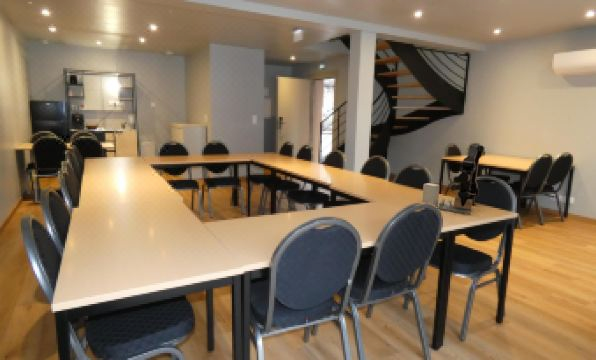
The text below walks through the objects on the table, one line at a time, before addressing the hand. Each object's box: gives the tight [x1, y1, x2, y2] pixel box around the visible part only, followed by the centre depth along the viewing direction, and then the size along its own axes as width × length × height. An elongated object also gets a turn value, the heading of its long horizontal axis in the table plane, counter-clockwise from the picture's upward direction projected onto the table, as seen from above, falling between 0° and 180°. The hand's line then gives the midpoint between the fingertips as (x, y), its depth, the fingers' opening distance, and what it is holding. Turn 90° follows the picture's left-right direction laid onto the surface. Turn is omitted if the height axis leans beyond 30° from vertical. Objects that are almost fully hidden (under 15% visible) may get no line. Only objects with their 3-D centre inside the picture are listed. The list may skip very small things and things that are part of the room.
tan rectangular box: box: [453, 196, 473, 210], centre depth 229 cm, size 5×10×5 cm, turn 62°
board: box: [438, 197, 472, 216], centre depth 231 cm, size 15×18×5 cm
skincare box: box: [421, 182, 440, 208], centre depth 234 cm, size 8×6×15 cm
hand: (462, 205), depth 229 cm, fingers closed on tan rectangular box, 5 cm apart
